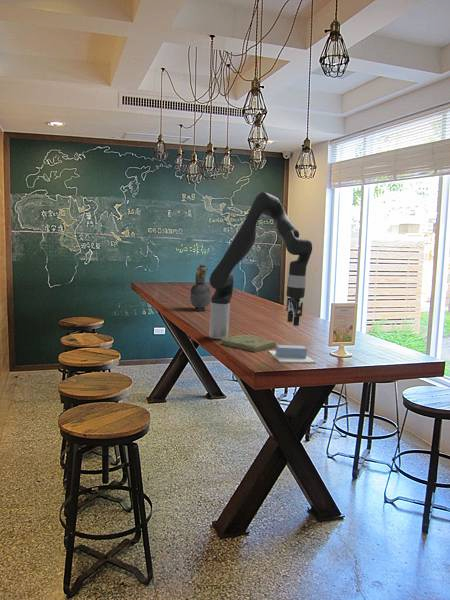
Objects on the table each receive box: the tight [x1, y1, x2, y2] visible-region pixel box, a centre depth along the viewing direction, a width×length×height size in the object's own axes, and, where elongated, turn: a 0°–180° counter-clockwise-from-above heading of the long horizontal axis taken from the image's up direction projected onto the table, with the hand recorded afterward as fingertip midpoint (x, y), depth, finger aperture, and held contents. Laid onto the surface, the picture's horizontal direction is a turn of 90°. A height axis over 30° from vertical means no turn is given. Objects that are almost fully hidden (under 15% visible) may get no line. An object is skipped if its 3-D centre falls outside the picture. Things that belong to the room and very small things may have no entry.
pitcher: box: [189, 263, 212, 312], centre depth 343 cm, size 11×19×30 cm, turn 20°
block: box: [275, 344, 308, 358], centre depth 226 cm, size 12×6×4 cm, turn 96°
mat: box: [267, 349, 316, 364], centre depth 226 cm, size 19×15×1 cm
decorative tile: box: [220, 334, 277, 353], centre depth 245 cm, size 19×20×4 cm
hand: (292, 323), depth 224 cm, fingers open, 8 cm apart
